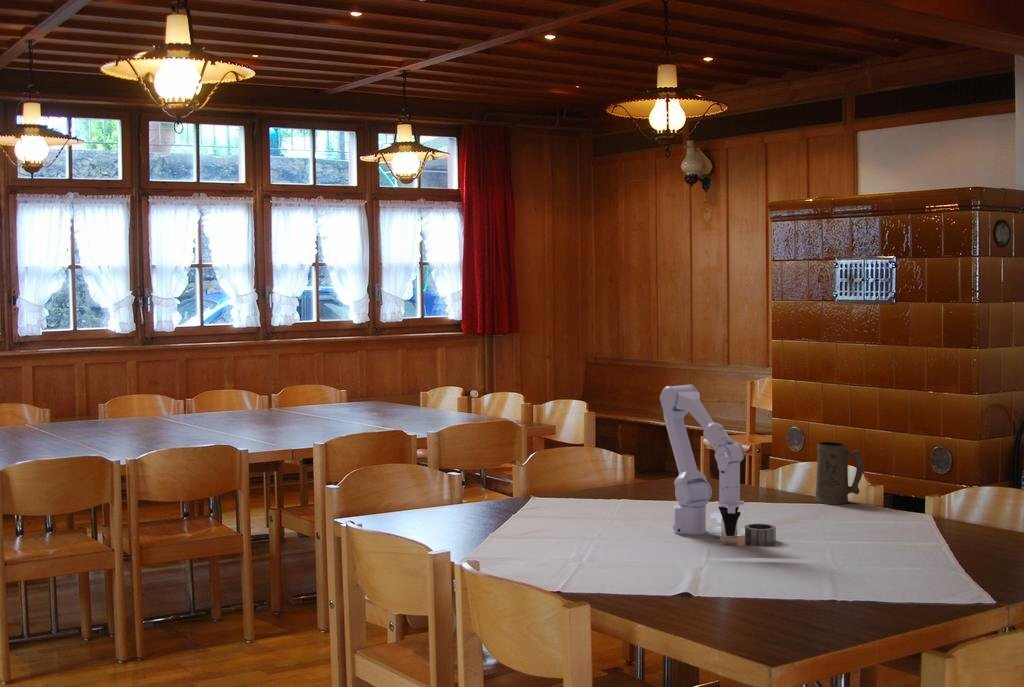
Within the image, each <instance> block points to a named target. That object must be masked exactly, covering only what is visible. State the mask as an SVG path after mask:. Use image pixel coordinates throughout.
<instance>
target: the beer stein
mask: <svg viewBox="0 0 1024 687" xmlns="http://www.w3.org/2000/svg"><path fill="white" fill-rule="evenodd" d="M816 452H817V456H816V457H817V458H816V459H817V462H816V463H817V465H816V482H815V483H816V486H815V497H814V501H815V502H816V503H819V504H823V505H824V504H825V505H844V504H848V503H849V498H848V497H849V496H848V495H849V494H855V495H859V494H860V492H861V490H860V488H859V483H860V481H861V480H862V476H863V473H864V463H863V459H862V457H861V450H860V449H859V450H858V449H855V450H853V451H849V449H848V445H847V443H844V442H836V441H835V442H834V441H820V442H818V443H817V445H816ZM851 458H852V459H854V461H855V462H856V472H855V476H854V479H853V482H852V484H851V486H849V477H848V476H849V475H848V474H849V472H848V468H849V467H848V459H851Z"/></svg>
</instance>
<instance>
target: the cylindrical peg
mask: <svg viewBox="0 0 1024 687" xmlns="http://www.w3.org/2000/svg"><path fill="white" fill-rule="evenodd" d="M720 530H721V537H722V538H726V539H734V538H737V535H738V523H737V524H736V529H735V534H734V536H726V532H725V526H724V520H723V518H722V517H721V529H720Z"/></svg>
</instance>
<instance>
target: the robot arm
mask: <svg viewBox="0 0 1024 687" xmlns="http://www.w3.org/2000/svg"><path fill="white" fill-rule="evenodd" d="M700 399H701V394H700V392H699V391H698V390H697V388H696V387H695V385H693V384H689V383H688V384H683V385H673V386H671V385H667V386H666V385H665V387H663V389H662V391H661V393H660V396H659V400H660V405H661V407H662V411H663V412H662V413H663V420H664V423H665V427H666V430H667V433H668V438H669V443H670V446H671V449H672V453H673V456H674V459H675V460H674V461H675V463H676V468H677V470H678V476H677V477H676V478H675V480H674V482H673V485H674V489H675V490H674V495H675V499H676V501H677V503H678V504H674V506H673V524H672V530H673V531H674V534H675V535H703V534H706V532H707V505H708V504H709V502H708V501H710V499H711V498H712V494H713V492H712V486H711V485H710V483H709V482H708V480H707V477H706V475H705V474H704V473H703V472H701V471H700V470H699V469H698V467H697V464H696V460H695V457H694V453H693V452H694V451H693V450H692V445H691V441H690V439H689V435H688V434H689V433H688V431H687V428H686V423H685V420H684V418H685V416H686V415H687V414H688V413H689V414H690V416H692V417H693V418H694V419H695V421H696V422H697V423H698V424H699V425H700V426H701V427H702V429H703V431H702V432H703V433H702V434H703V437H704V438H705V440H707V442H708V443H709V445H710V446H711V448H712V449H713V450H714V458H715V461H716V462H717V469H718V472H719V473H718V474H719V477H718V480H719V481H718V483H719V487H718V489H719V490H718V492H719V493H718V505H719V506H717V508H718V510H719V512H720V515H721V519H722V518H723V520H724V526H725V532H726V536H734V534H735V529H736V524H737V525H738V520H739V518H740V517H741V514H742V513H741V511H739V509H740V507H739V506H741V505H743V506H744V505H745V501H744V500H741V498H740V497H741V496H740V495H741V489H740V488H741V462H742V461H743V460H744V458H745V449H744V447H743V445H742V444H741V443H740V442H737V441H735V440H734V439H732V438H731V436H730V435H729V434H728V433H727V431H726V430H725V428H724V426H723V424H721V423H719V422H714V420H713V419H712V417H711V416H710V414H709V412H708V411H707V409H706V408H705V406H704V404H703V403H702V401H701V400H700ZM725 453H726V454H725ZM726 455H727V457H726Z"/></svg>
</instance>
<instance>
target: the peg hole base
mask: <svg viewBox="0 0 1024 687" xmlns="http://www.w3.org/2000/svg"><path fill="white" fill-rule="evenodd" d="M776 536H777V528H776V526H775V525H772V524H769V523H768V524H767V523H749V524H746V525H744V535H740V536H737V538H734V539H726V538H722V537H721V536H720V534H718V538H719V540H720V543H721V546H724V547H725V546H726V547H728V546H729V547H736V546H737V547H778V545H777V543H776V541H777V537H776Z"/></svg>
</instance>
